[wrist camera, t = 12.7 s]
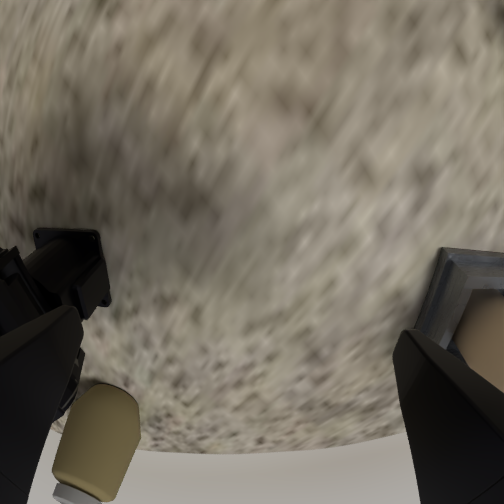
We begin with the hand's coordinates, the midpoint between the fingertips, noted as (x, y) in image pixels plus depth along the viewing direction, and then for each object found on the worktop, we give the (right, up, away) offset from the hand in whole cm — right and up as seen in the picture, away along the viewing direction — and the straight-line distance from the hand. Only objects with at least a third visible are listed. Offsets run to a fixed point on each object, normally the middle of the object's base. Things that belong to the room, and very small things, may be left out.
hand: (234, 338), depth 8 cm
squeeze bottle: (-15, -14, +22) cm, 30 cm away
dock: (+20, -3, +15) cm, 25 cm away
